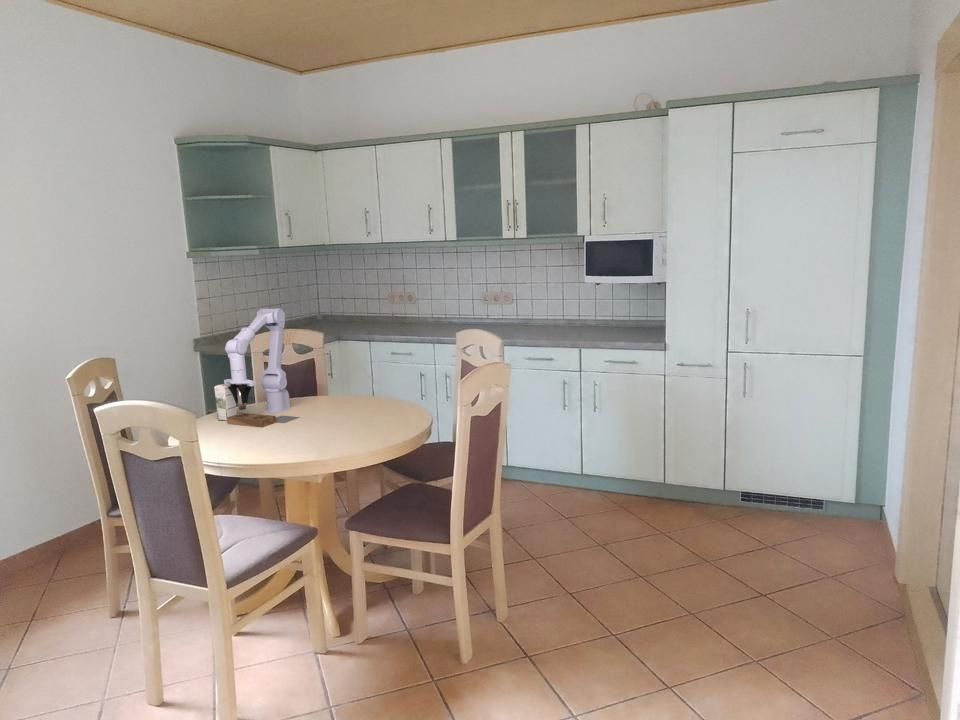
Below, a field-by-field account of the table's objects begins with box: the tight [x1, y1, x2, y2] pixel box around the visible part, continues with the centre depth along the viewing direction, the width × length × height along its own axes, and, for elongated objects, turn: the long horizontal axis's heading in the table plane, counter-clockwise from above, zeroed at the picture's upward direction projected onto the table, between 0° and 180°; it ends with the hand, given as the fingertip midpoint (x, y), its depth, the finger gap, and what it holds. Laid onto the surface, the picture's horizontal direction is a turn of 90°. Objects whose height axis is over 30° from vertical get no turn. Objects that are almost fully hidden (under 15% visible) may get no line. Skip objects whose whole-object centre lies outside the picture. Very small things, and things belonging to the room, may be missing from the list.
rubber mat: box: [275, 415, 301, 424], centre depth 285 cm, size 10×10×1 cm
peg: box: [236, 387, 247, 411], centre depth 281 cm, size 3×3×9 cm
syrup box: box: [213, 383, 238, 422], centre depth 289 cm, size 6×6×14 cm
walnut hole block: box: [226, 412, 277, 429], centre depth 281 cm, size 8×18×3 cm, turn 65°
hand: (241, 402), depth 281 cm, fingers closed on peg, 3 cm apart
